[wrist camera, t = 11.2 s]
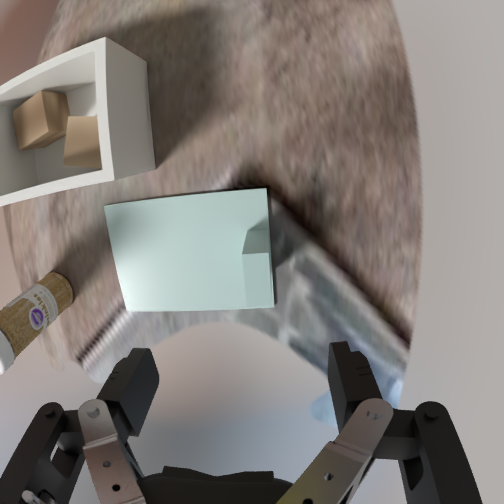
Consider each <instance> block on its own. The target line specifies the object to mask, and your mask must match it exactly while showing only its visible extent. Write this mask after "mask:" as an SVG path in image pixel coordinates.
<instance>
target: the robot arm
mask: <svg viewBox="0 0 504 504" xmlns="http://www.w3.org/2000/svg"><path fill="white" fill-rule="evenodd" d="M328 382H329V387H330V392H331V396H332V401H333V406H334V411H335V415H336V420H337V425H338V430H339V435H338V436H337V438H336V439H335V440H334V441H333V442H332V441H330V442H328V443H327V444H326V445H325V447H324V448H323V449H322V450H321V452H320V453H319V454H318V456H317V457H316V458H315V459H314V460H313V462H312V463H311V464H310V465H309V467H308V468H307V469H306V470H305V471H304V473H303V474H302V475H301V476H300V478H298V480H297V481H296V482H295V483H294V484H293V483H291V482H288V481H285V480H282V479H277V478H274V473H273V471H258V472H240V473H235V474H230V475H223V476H212V475H208V474H205V473H201V472H198V471H195V470H192V469H187V468H177V467H168V466H164V468H163V472H162V473H157V474H152V475H149V476H146V477H145V476H144V474H143V472H142V470H141V468H140V466H139V464H138V462H137V460H136V458H135V456H134V454H133V452H132V449H131V447H130V445H129V443H128V441H127V439H128V437H129V436H136V437H138V436H139V433H140V431H141V428H142V426H143V423H144V421H145V418H146V415H147V413H148V410H149V408H150V405H151V403H152V400H153V398H154V395H155V393H156V390H157V388H158V385H159V373H158V370H157V367H156V364H155V361H154V358H153V355H152V352H151V350H150V349H149V348H133V349H132V350H131V352H130V354H129V356H128V357H127V358H123V359H122V360H121V361H119V362H118V363H117V364H116V365H115V367H114V369H113V370H112V373H111V374H110V375H109V377H108V379H107V381H106V382H105V384H104V386H103V387H102V389H101V391H100V393H99V395H98V396H97V398H96V399H92V400H88V401H86V402H84V403H83V404H82V405H81V406H80V408H79V410H69V411H64V410H63V408H62V406H61V405H60V404H58V403H56V402H51V403H47V404H45V405H43V406H42V407H41V408H40V409H39V410H38V412H37V414H36V415H35V417H34V419H33V420H32V422H31V424H30V425H29V427H28V429H27V430H26V432H25V434H24V436H23V438H22V439H21V441H20V443H19V444H18V446H17V448H16V450H15V452H14V453H13V456H12V457H11V459H10V461H9V463H8V465H7V467H6V469H5V471H4V472H3V474H2V476H1V478H0V504H69V500H70V498H71V495H72V492H73V490H74V487H75V484H76V482H77V479H78V476H79V474H80V471H81V468H82V466H83V464H84V461H85V459H86V462H87V465H88V469H89V471H90V475H91V478H92V481H93V484H94V486H95V489H96V492H97V495H98V498H99V500H100V503H101V504H349V502H350V501H351V499H352V498H353V496H354V494H355V492H356V491H357V489H358V487H359V486H360V484H361V483H362V481H363V480H364V478H365V476H366V475H367V473H368V472H369V470H370V468H371V467H372V465H373V463H374V461H375V460H376V458H378V459H393V460H398V463H399V467H400V471H401V476H402V480H403V485H404V490H405V495H406V500H407V504H482V500H481V497H480V494H479V491H478V488H477V485H476V482H475V479H474V476H473V473H472V470H471V468H470V465H469V462H468V460H467V457H466V454H465V452H464V449H463V447H462V444H461V442H460V439H459V437H458V435H457V432H456V430H455V427H454V425H453V422H452V420H451V418H450V415H449V413H448V411H447V409H446V408H445V407H444V406H443V405H442V404H440V403H438V402H432V401H428V402H424V403H421V404H420V405H419V406H418V407H417V408H416V410H415V411H411V410H398V409H395V408H392V406H391V405H390V404H389V403H388V402H387V401H385V400H383V398H382V396H381V393H380V391H379V388H378V385H377V383H376V380H375V378H374V375H373V373H372V370H371V368H370V365H369V362H368V360H367V358H366V357H365V356H364V355H363V354H362V353H361V352H360V351H355V352H351V351H350V348H349V345H348V343H347V341H342V342H333V343H330V344H329V357H328ZM56 444H57V445H58V448H57V450H56V453H55V455H54V457H53V459H52V461H51V460H50V456H51V453H52V451H53V449H54V447H55V445H56Z"/></svg>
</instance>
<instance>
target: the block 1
mask: <svg viewBox="0 0 504 504" xmlns="http://www.w3.org/2000/svg"><path fill="white" fill-rule="evenodd" d="M12 113H13V120H14V126H15V131H16V137H17V142H18V147H19V151H20V150H28V149H37V148H45V147H47V146H49V145H50V144H52V143H54V142H55V141H57V140H59V139H61V138H62V137H64V136H66V131H67V123H68V116H70V111H69V106H68V101H67V96H66V94H61V93H55V92H49V91H42V90H41V91H40V92H38V93H37V94H35V95H34V96H32V97H31V98H30V99H28V100H27V101H26V102H24V103H23V104H22V105H20V106H19V107H18V108H16V109H15V110H14V111H12Z"/></svg>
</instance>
